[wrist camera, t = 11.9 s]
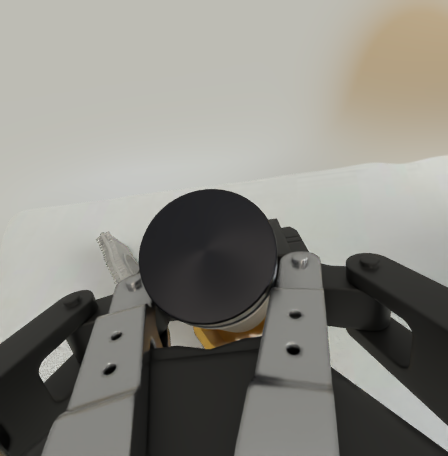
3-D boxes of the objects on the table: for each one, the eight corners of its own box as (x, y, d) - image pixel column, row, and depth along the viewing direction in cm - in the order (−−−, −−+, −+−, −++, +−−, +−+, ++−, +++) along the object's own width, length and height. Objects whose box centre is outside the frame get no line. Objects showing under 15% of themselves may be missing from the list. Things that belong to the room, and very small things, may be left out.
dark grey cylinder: (258, 257, 17) (252, 170, 8) (280, 321, 15) (303, 299, 7) (197, 276, 17) (126, 210, 8) (214, 342, 15) (148, 348, 7)
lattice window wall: (170, 325, 31) (150, 323, 26) (157, 334, 31) (134, 334, 26) (129, 243, 36) (104, 227, 30) (117, 251, 36) (90, 235, 30)
